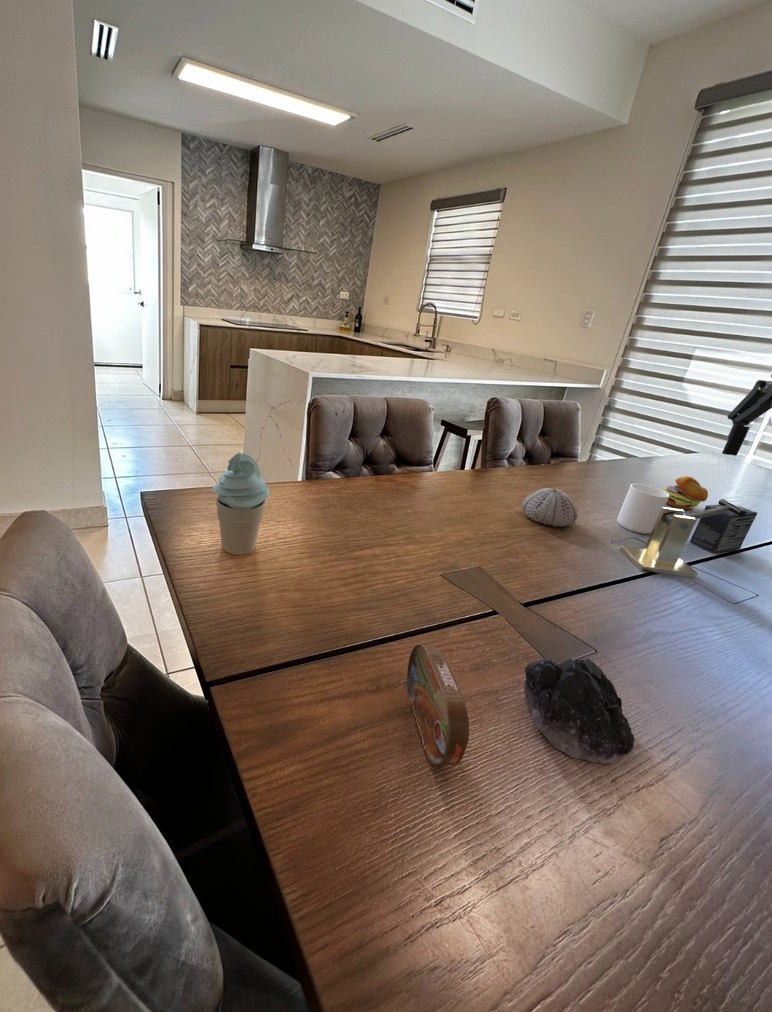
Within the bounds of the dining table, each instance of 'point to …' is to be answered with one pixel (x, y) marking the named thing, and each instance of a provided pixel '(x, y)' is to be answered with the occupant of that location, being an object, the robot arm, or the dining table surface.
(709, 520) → the small box
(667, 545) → the bracket
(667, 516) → the lever
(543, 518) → the sea urchin shell
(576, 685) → the crystal cluster
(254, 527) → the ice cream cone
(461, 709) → the tin
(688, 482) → the cheeseburger
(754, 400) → the robot arm
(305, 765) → the dining table surface
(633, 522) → the mug
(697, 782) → the dining table surface
